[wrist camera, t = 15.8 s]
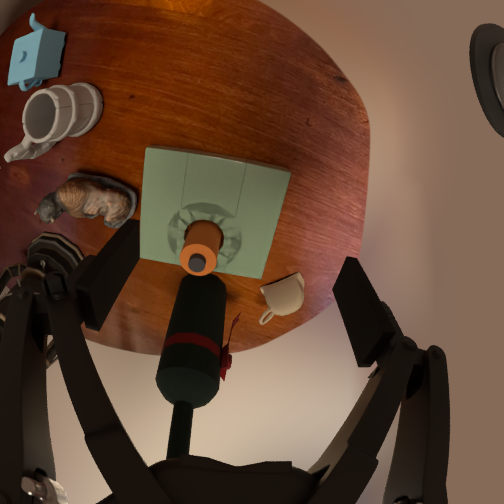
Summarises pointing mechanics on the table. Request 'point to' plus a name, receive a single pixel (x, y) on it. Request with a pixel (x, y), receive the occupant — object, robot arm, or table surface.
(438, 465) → the robot arm
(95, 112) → the mug
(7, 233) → the table surface
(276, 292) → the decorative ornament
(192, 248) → the orange cylinder
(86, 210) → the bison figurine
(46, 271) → the lantern
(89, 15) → the table surface
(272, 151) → the table surface
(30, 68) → the teapot
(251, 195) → the green peg socket base
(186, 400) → the wine bottle
